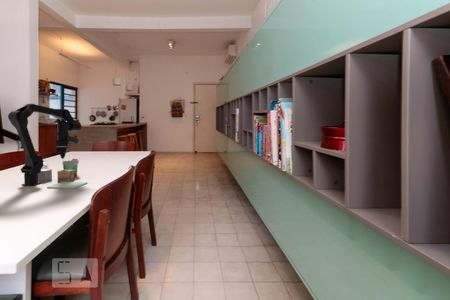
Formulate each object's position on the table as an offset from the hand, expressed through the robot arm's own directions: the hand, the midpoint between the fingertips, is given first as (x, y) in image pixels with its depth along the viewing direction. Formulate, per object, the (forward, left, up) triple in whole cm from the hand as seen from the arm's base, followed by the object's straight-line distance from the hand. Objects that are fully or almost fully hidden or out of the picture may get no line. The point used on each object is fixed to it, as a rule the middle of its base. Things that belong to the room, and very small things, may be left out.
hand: (63, 157), depth 183 cm
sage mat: (-17, -12, -13) cm, 25 cm away
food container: (+10, 0, -13) cm, 16 cm away
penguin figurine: (+6, +16, -13) cm, 21 cm away
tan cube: (-5, -4, -13) cm, 14 cm away
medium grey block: (-5, +9, -13) cm, 16 cm away
